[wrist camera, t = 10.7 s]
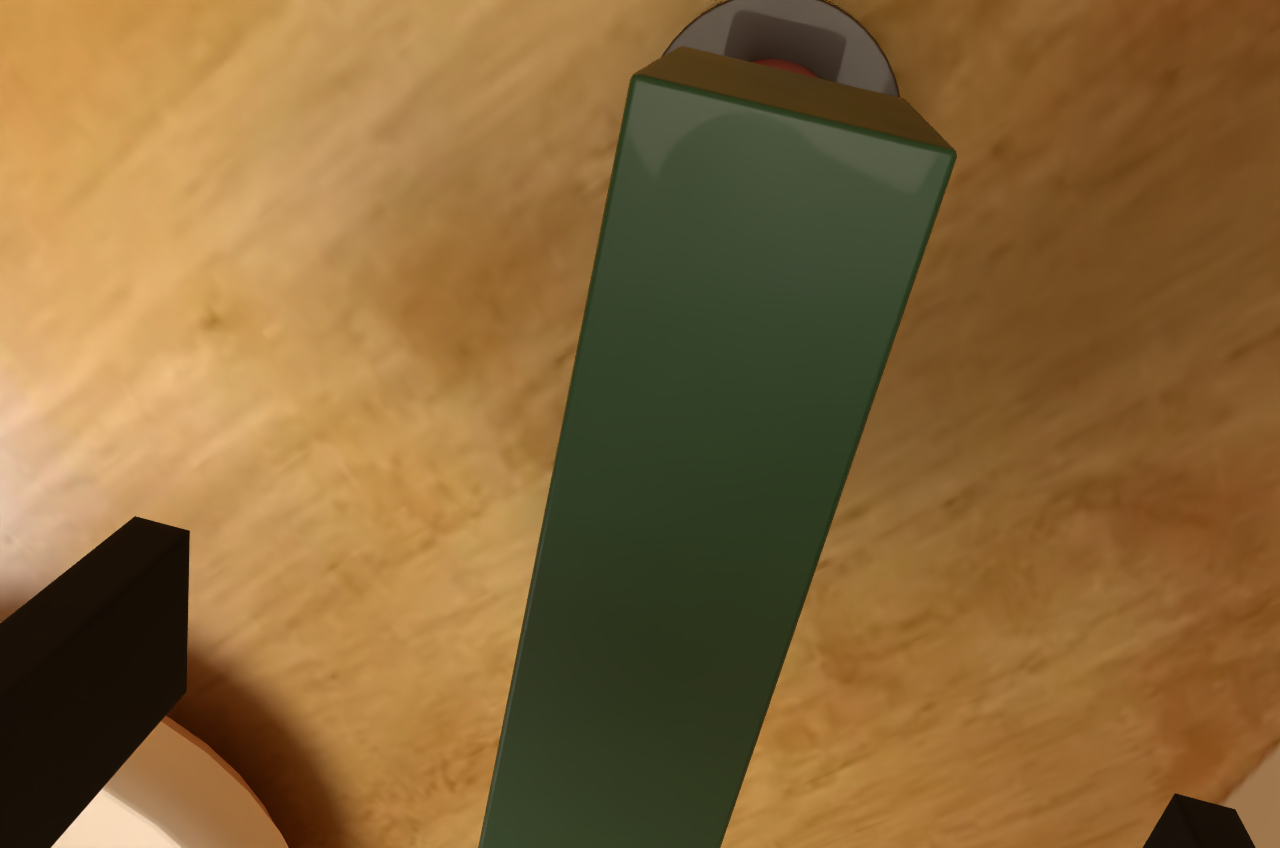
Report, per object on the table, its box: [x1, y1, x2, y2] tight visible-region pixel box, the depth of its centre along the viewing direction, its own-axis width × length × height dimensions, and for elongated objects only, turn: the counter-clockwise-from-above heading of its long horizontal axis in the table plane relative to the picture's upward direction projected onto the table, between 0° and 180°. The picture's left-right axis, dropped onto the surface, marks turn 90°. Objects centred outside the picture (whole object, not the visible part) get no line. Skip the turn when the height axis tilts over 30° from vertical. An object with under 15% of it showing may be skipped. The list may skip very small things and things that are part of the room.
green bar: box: [478, 46, 957, 848], centre depth 16 cm, size 4×16×5 cm, turn 168°
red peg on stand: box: [662, 0, 900, 98], centre depth 20 cm, size 6×6×9 cm
